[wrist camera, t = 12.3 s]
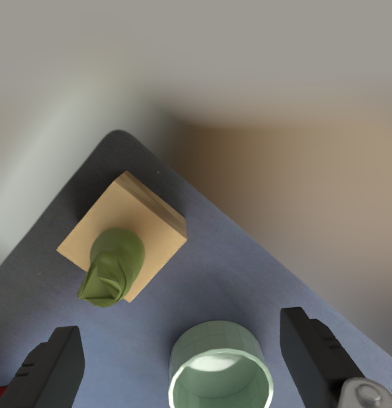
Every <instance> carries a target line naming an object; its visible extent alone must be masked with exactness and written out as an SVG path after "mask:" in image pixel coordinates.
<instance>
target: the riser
mask: <svg viewBox="0 0 392 408" xmlns="http://www.w3.org/2000/svg"><path fill="white" fill-rule="evenodd" d="M115 227H120V228H126V229H129V230H131V231H133V232H134V233H136V234H137V235H138V236H139V237H140V238H141V240H142V241H143V243H144V246H145V259H144V263H143V266H142V268H141V271H140V273H139V275H138V277H137V278H136V280H135V281H134V282H133V284H132V286H131V288H130V290H129V292H128V293H127V294H126V296H125V297H123V298H124V299H125V300H127V301H128V302H131V301H132V300H133V299H134V298H135V296H136V295H137V294H138V293H139V292H140V291H141V290H142V289H143V288H144V287H145V285H146V284H147V283H148V282H149V281H150V280H151V279H152V278H153V277H154V276H155V275H156V273H157V272H158V271H159V270H160V269H161V268H162V267H163V266H164V265H165V264H166V262H167V261H168V260H169V259H170V258H171V257H172V256H173V255H174V254H175V253H176V252H177V250H178V249H179V248H180V247H181V246H182V245H183V244H184V243H185V242H186V241H187V232H186V221H185V218H184V217H183V216H182V215H180V214H179V213H178V212H177V211H175V210H174V209H173V208H172V207H171V206H169V205H168V204H167V203H166V202H165V201H163V200H162V199H161V198H160V197H158V196H157V195H156V194H155V193H154V192H152V191H151V190H150V189H149V188H147V187H146V186H145V185H144V184H143V183H141V182H140V181H139V180H138V179H137V178H135V177H134V176H133V175H132V174H130V173H129V172H128V171H127V170H126V171H125V172H124V173H122V174H121V175H120V176H119V177H118V178H116V179H115V180H114V181H113V182H112V183H111V185H110V186H109V187H108V188H107V189H106V191H105V192H104V193H103V194H102V195H101V197H100V198H99V199H98V200H97V201H96V203H95V204H94V205H93V206H92V207H91V209H90V210H89V211H88V212H87V213H86V215H85V216H84V217H83V218H82V219H81V221H80V222H79V223H78V224H77V225H76V227H75V228H74V229H73V230H72V231H71V233H70V234H69V235H68V236H67V237H66V239H65V240H64V241H63V242H62V243H61V245H60V246H59V247H58V248H57V249H56V251H58V252H59V253H61V254H62V255H64V256H65V257H66V258H68V259H69V260H71V261H72V262H73V263H75V264H76V265H78V266H79V267H80V268H82V269H83V270H85V271H86V272H87V271H88V269H89V267H90V250H91V246H92V244H93V242H94V241H95V239H96V238H97V237H98V236H99V235H100V234H101V233H102V232H103V231H105V230H107V229H110V228H115Z"/></svg>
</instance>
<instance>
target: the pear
mask: <svg viewBox="0 0 392 408" xmlns="http://www.w3.org/2000/svg"><path fill="white" fill-rule="evenodd" d="M144 259H145V246H144V243H143V241H142V240H141V238H140V237H139V236H138V235H137V234H136V233H134V232H133V231H131V230H129V229H126V228H120V227H115V228H110V229H107V230H105V231H103V232H102V233H101V234H100V235H99V236H98V237H97V238H96V239H95V241H94V242H93V244H92V246H91V250H90V267H89V269H88V271H87V273H86V276H85V278H84V280H83V282H82V284H81V286H80V288H79V291H78V293H77V296H78V298H79V299H83V300H86V301H88V302H90V303H92V304H93V305H95V306H99V307H103V308H105V307H109V306H112V305H113V304H115V303H117V302H118V301H120V300H121V299H122V298H123V297H125V296H126V294H127V293H128V292H129V290H130V288H131V286H132V284H133V282H134V281H135V280H136V278H137V277H138V275H139V273H140V271H141V268H142V266H143V263H144Z"/></svg>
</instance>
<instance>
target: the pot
mask: <svg viewBox="0 0 392 408" xmlns="http://www.w3.org/2000/svg"><path fill="white" fill-rule="evenodd" d="M168 397H169V406H170V408H268V407H269V405H270V402H271V399H272V397H273V380H272V377H271V374H270V372H269V369H268V367H267V364H266V361H265V359H264V356H263V353H262V351H261V348H260V346H259V343H258V341H257V340H256V338H255V337H254V335H253V334H252V333H251V332H250V331H248V330H247V329H246V328H244V327H243V326H241V325H239V324H236V323H233V322H229V321H221V320H216V321H208V322H204V323H201V324H198V325H196V326H194V327H192V328H190V329H189V330H187V331H186V332H185V333H183V334H182V335H181V336H180V337H179V339H178V340H177V341H176V343H175V345H174V346H173V349H172V351H171V355H170V360H169V378H168Z"/></svg>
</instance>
